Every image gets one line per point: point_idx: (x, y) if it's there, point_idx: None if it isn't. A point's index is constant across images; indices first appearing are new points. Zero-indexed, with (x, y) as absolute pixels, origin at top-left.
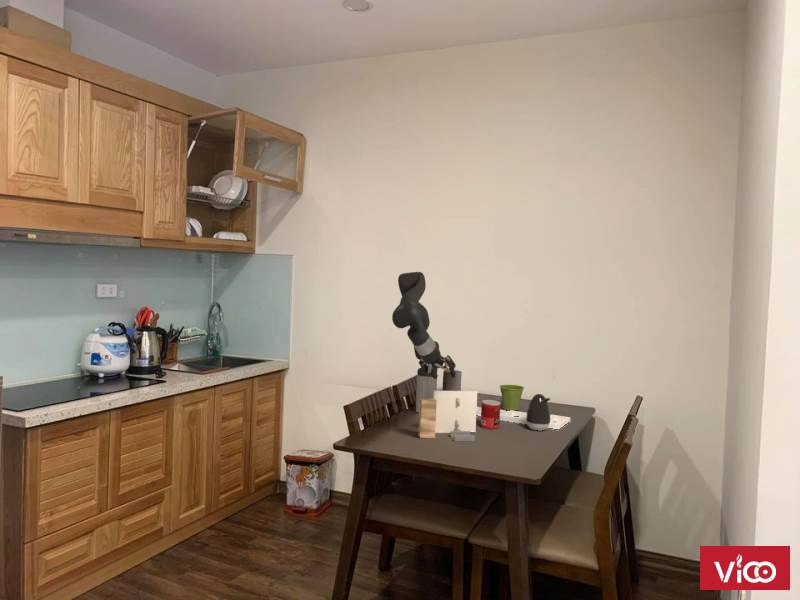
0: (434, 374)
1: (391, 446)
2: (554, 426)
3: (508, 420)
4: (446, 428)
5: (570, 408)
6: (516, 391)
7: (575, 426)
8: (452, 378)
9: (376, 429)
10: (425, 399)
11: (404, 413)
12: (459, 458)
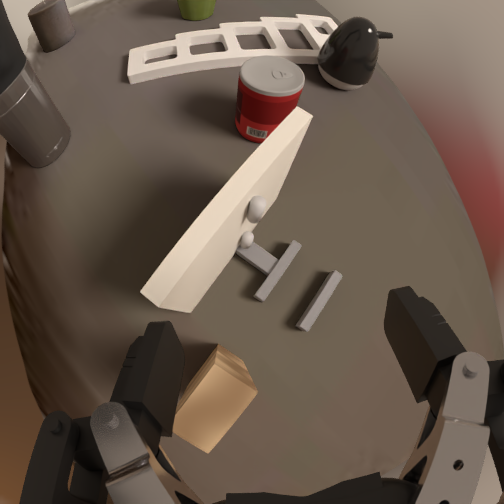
0: (169, 386)
1: (222, 499)
2: None
3: None
4: (218, 272)
5: None
6: None
7: None
8: (51, 15)
9: (66, 408)
10: (194, 415)
11: (16, 201)
12: (398, 425)
